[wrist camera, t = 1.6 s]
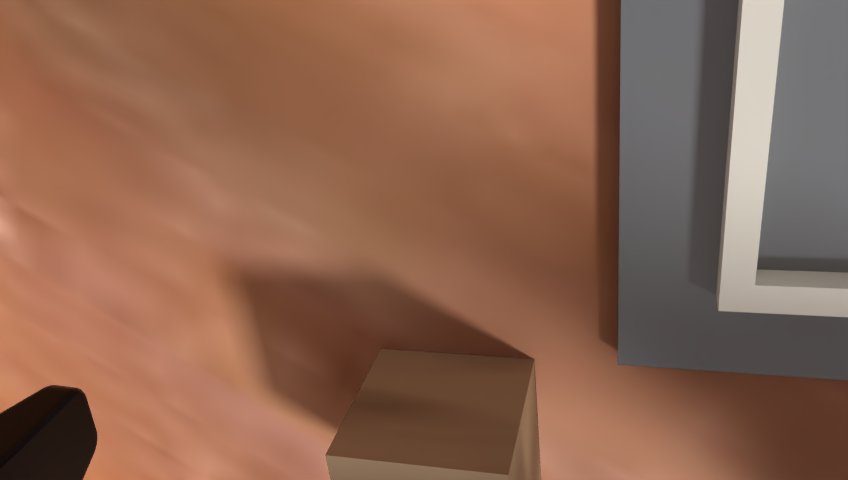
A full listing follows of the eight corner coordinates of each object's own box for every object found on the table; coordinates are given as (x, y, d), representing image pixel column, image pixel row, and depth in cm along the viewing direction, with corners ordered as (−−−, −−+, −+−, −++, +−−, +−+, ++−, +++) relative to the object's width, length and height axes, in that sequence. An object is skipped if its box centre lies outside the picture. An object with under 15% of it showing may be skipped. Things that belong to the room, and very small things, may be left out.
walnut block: (541, 478, 26) (519, 607, 21) (400, 462, 27) (353, 581, 23) (534, 357, 23) (508, 475, 19) (381, 347, 25) (325, 455, 21)
